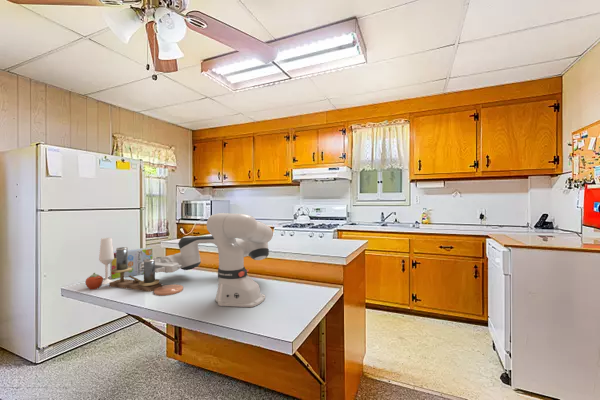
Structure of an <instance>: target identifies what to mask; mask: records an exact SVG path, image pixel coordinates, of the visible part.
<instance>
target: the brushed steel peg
mask: <svg viewBox="0 0 600 400" xmlns="http://www.w3.org/2000/svg"><path fill="white" fill-rule="evenodd" d="M154 271H155V259H154V258H153V259H146V260H144V274H143V281H144V283H152V282H155V279H156V272H154Z"/></svg>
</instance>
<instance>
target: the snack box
mask: <svg viewBox="0 0 600 400" xmlns="http://www.w3.org/2000/svg"><path fill="white" fill-rule="evenodd" d="M113 253H114V259H113V261H112V262H111V263H110V264H109V265H110V271H109V272H110V278H111V280H114V278H115V279H120V273H113V272H112V270H113V269H115V268H116V250H113ZM146 259H154V258H153V248H152V247H144V248H143V247H141V248H133V249H128V267H132V270H131V271H128V272H124V278H126V277H129V276H130V275H131V276H133V277H134V276H139V275H144V271H140V267H141V263H143V262H144V260H146Z"/></svg>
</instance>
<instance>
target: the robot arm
mask: <svg viewBox="0 0 600 400" xmlns="http://www.w3.org/2000/svg"><path fill="white" fill-rule="evenodd" d="M206 229H207V231H208V233H210V235H209V236H208V235H207V236H206V235H205V236H202V235H200V236H194V235H187V236H183V237H181V238H180V239H179V240H178V243H177V245H178V249H179V251H180V252H178V253H174V254H169V255H165V256H159V257H158V256H157V257H154V258H153V259H155V271H154V272H155V274H156V273H166V274H167V273H170V274H171V273H174V272H177V271H179V270H180V269H181V270H184V271H190V270H192V269H195V268H198V267H199V266H200V264H201V263H202V261H201V254H200V251H199V250H200V249H199V245H200V244H213V245H214V246H216V247H217V252H218V268H217V279H218V283H217V285H218V286H217V291H216V296H215V299H214V300H215V302H216V303H217V306H220V307H221V306H222V307H238V308H239V307H241V308H243V307H244V308H252V307H255V306H256V307H257V306H258V305H260V304H262V303H263V302H264V301H265V300H266V295H265V294H263V293H261V289H260V285H259V284H258V282H256V281H255V280H254V279H252V277H250V276H249V275H248V272H249V270H250V268H248V269H246V267H245V265H244V263H245V260H244V258H245V257H250V259H252V260H254V261H262V260H265V259H266V258H267V257H268V256H269V253H270V252H269V251H270V249H269V245H268V242H270V241H271V240H272V238H273V234H274V232H273V229H272V228H271V227H270V226H269V225H267V223H263V222H262V221H259V220H256V218H255V217H254V216H251V215H249V214H245V213H231V212H228V213H227V212H219V213H215V214H211V215H210V216H209V217H208V218H207V221H206ZM140 271H144V262H143V263H141V267H140Z"/></svg>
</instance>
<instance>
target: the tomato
mask: <svg viewBox="0 0 600 400" xmlns="http://www.w3.org/2000/svg"><path fill="white" fill-rule="evenodd" d="M103 281H104V277H103V276H102V275H99V274H97V273H96V272H93V273H92V274H91V275H89V276H88V277H87V278H86V279H85V281H84V282H85V285H86V287H87V288H88V289H89V290H98V289H100V287H101V286H102V285H103V284H102V283H103ZM97 288H98V289H97Z"/></svg>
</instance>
